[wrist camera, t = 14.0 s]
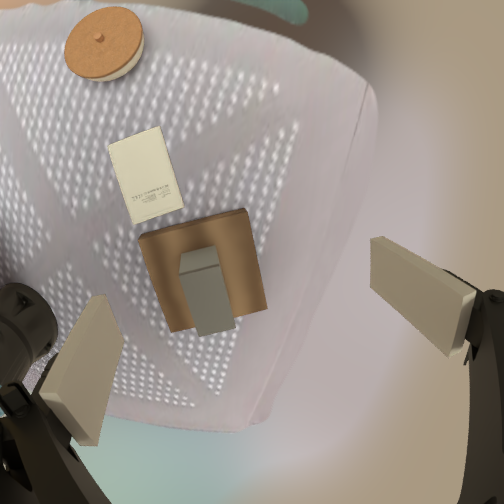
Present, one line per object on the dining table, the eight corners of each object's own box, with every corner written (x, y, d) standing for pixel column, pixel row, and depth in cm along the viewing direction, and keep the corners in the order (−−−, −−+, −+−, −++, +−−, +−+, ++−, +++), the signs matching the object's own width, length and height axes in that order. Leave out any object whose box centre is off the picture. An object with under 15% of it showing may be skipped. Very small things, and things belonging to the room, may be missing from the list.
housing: (197, 307, 45) (199, 336, 38) (181, 253, 42) (178, 276, 35) (229, 299, 46) (236, 328, 38) (215, 245, 43) (219, 265, 35)
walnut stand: (172, 322, 49) (171, 332, 46) (141, 234, 43) (137, 239, 40) (263, 300, 50) (267, 308, 47) (244, 207, 45) (247, 211, 42)
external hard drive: (160, 126, 39) (185, 205, 43) (109, 146, 38) (134, 223, 43) (159, 125, 37) (184, 207, 42) (106, 145, 37) (132, 225, 41)
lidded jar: (70, 69, 32) (44, 54, 24) (115, 16, 31) (99, -10, 22) (117, 101, 36) (98, 89, 27) (164, 45, 34) (157, 21, 26)
